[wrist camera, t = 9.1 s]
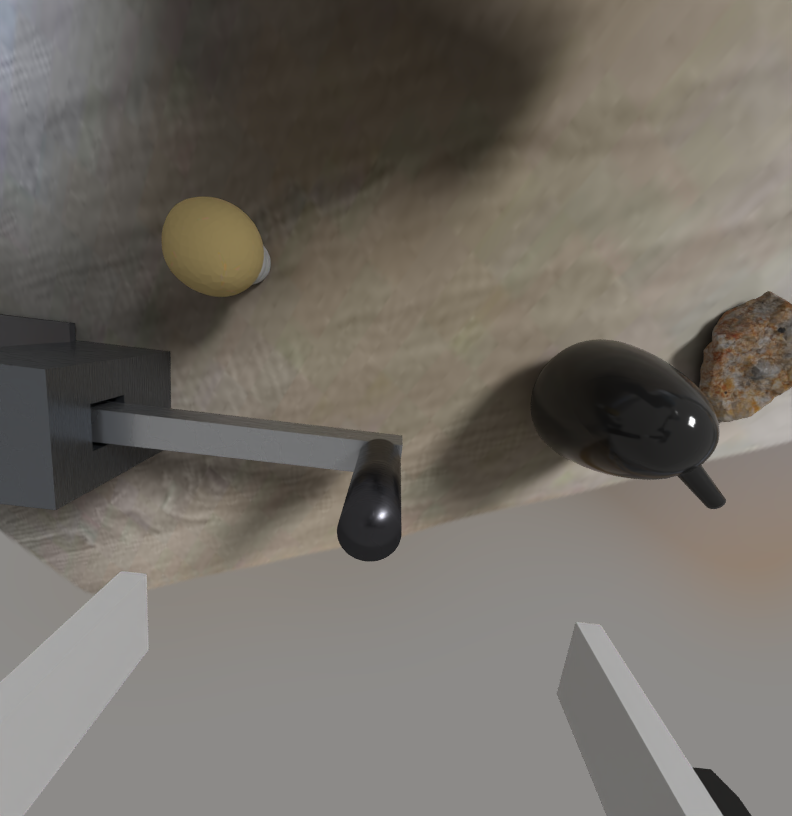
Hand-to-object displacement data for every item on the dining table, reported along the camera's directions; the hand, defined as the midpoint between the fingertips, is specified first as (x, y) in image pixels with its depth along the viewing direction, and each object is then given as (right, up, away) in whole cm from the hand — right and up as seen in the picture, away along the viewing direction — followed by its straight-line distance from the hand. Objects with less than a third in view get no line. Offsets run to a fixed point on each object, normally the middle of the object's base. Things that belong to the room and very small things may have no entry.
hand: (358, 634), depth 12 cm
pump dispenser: (+18, +8, +24) cm, 31 cm away
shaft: (-13, +5, +18) cm, 23 cm away
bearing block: (-24, +8, +25) cm, 35 cm away
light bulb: (-11, +20, +22) cm, 32 cm away
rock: (+32, +12, +24) cm, 42 cm away
